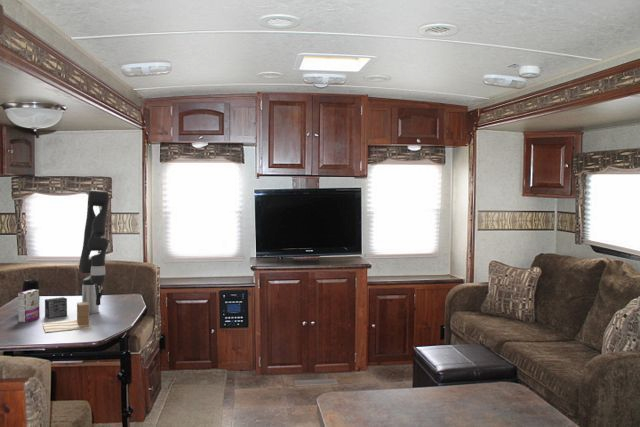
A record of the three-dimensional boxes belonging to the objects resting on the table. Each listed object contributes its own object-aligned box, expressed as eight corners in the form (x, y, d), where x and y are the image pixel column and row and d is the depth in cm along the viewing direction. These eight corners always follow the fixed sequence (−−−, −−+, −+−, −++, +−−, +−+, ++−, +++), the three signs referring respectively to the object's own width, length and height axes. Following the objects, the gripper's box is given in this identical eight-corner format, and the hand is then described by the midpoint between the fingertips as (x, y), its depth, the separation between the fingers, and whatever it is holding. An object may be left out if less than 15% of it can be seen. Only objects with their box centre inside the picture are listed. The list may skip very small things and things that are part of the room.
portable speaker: (35, 313, 317) (35, 280, 317) (19, 313, 317) (19, 280, 316) (42, 309, 326) (42, 278, 325) (26, 309, 325) (26, 278, 324)
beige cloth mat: (42, 324, 292) (42, 323, 292) (86, 320, 303) (86, 319, 303) (45, 332, 274) (45, 331, 274) (91, 328, 286) (91, 327, 286)
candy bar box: (32, 317, 307) (32, 289, 306) (39, 318, 306) (39, 289, 305) (17, 322, 296) (17, 292, 295) (25, 322, 295) (25, 293, 294)
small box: (63, 314, 316) (63, 296, 316) (67, 316, 312) (67, 298, 311) (44, 316, 309) (44, 298, 309) (48, 318, 304) (48, 300, 304)
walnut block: (77, 322, 295) (77, 302, 295) (86, 321, 298) (86, 301, 297) (78, 325, 288) (78, 305, 288) (88, 324, 291) (88, 304, 290)
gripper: (107, 274, 292) (107, 306, 293) (103, 272, 303) (103, 302, 304) (92, 275, 288) (92, 307, 289) (88, 272, 299) (89, 303, 300)
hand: (98, 304), depth 296 cm, fingers closed
